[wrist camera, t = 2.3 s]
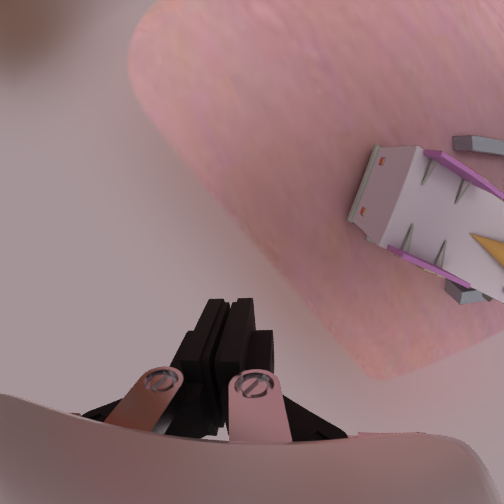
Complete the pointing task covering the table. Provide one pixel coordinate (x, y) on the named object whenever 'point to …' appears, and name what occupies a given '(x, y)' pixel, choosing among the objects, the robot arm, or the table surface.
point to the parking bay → (479, 146)
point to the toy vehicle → (434, 216)
